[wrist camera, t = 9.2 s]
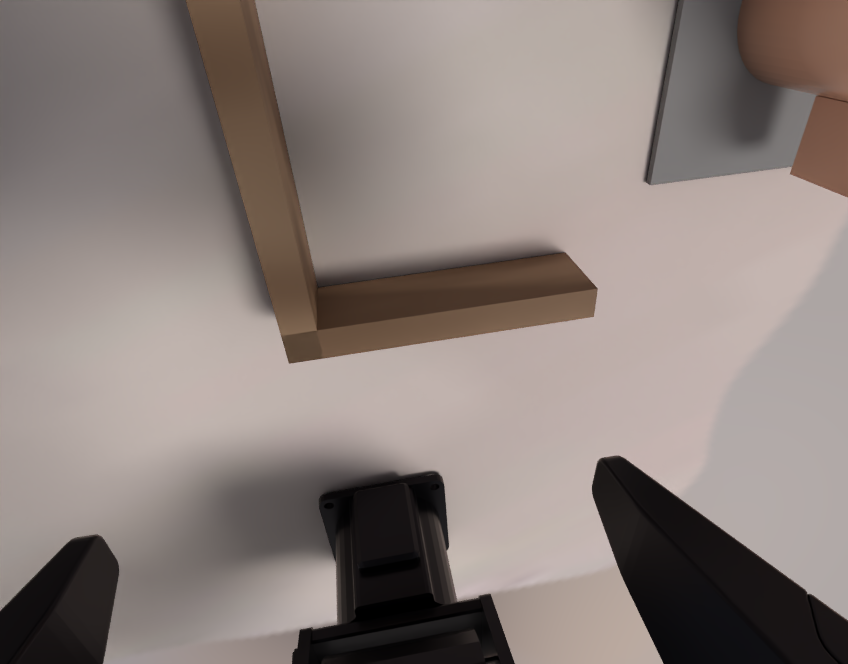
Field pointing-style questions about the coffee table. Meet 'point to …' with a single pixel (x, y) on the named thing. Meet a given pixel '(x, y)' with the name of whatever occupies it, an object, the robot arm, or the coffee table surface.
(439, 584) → the robot arm
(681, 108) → the mat
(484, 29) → the coffee table surface
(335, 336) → the holder
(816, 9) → the popsicle on stick
